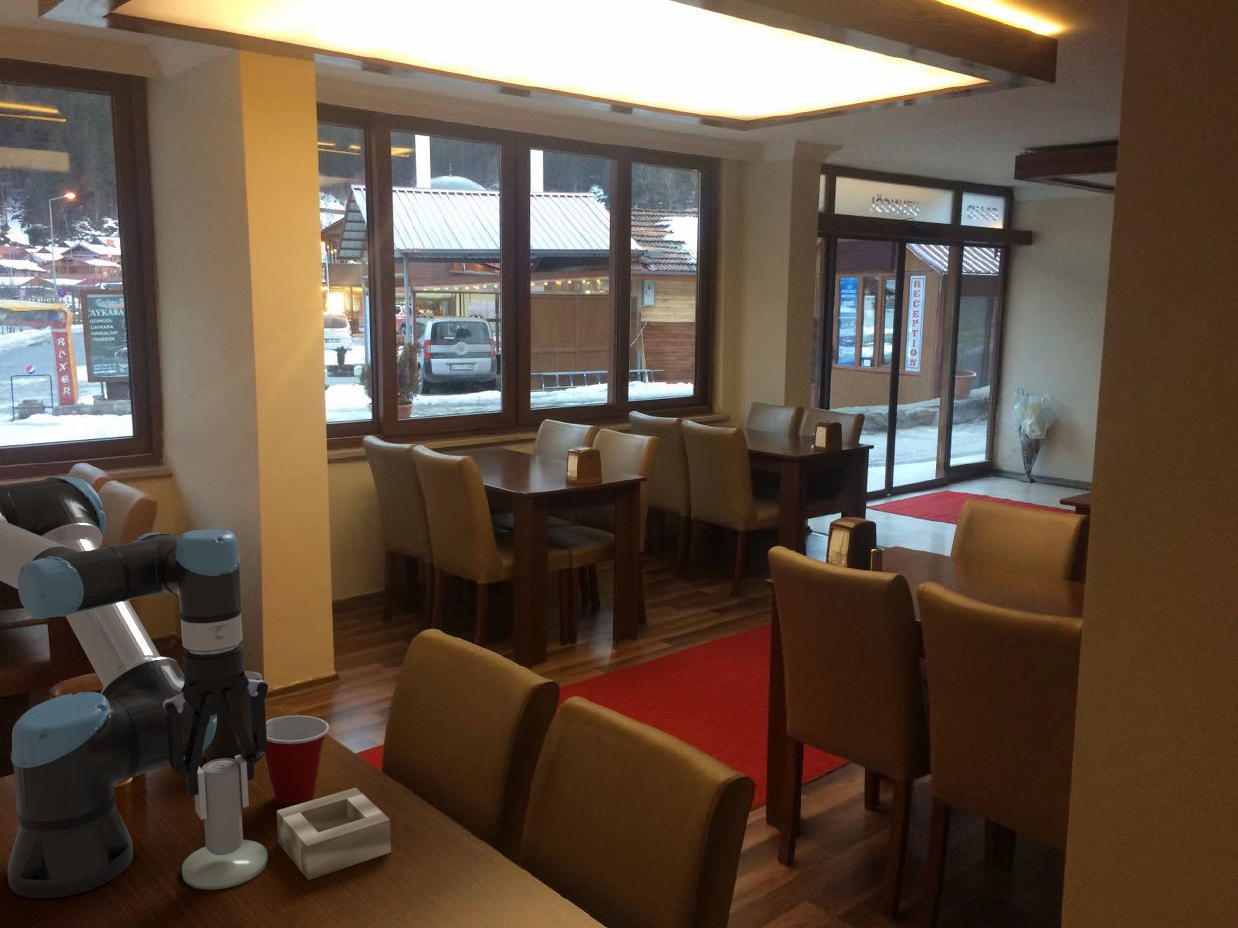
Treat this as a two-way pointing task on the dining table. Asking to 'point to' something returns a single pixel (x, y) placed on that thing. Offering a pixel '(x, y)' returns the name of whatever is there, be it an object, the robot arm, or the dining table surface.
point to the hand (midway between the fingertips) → (222, 808)
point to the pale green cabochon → (224, 866)
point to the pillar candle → (224, 735)
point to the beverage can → (223, 806)
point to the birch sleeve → (333, 832)
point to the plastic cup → (294, 756)
